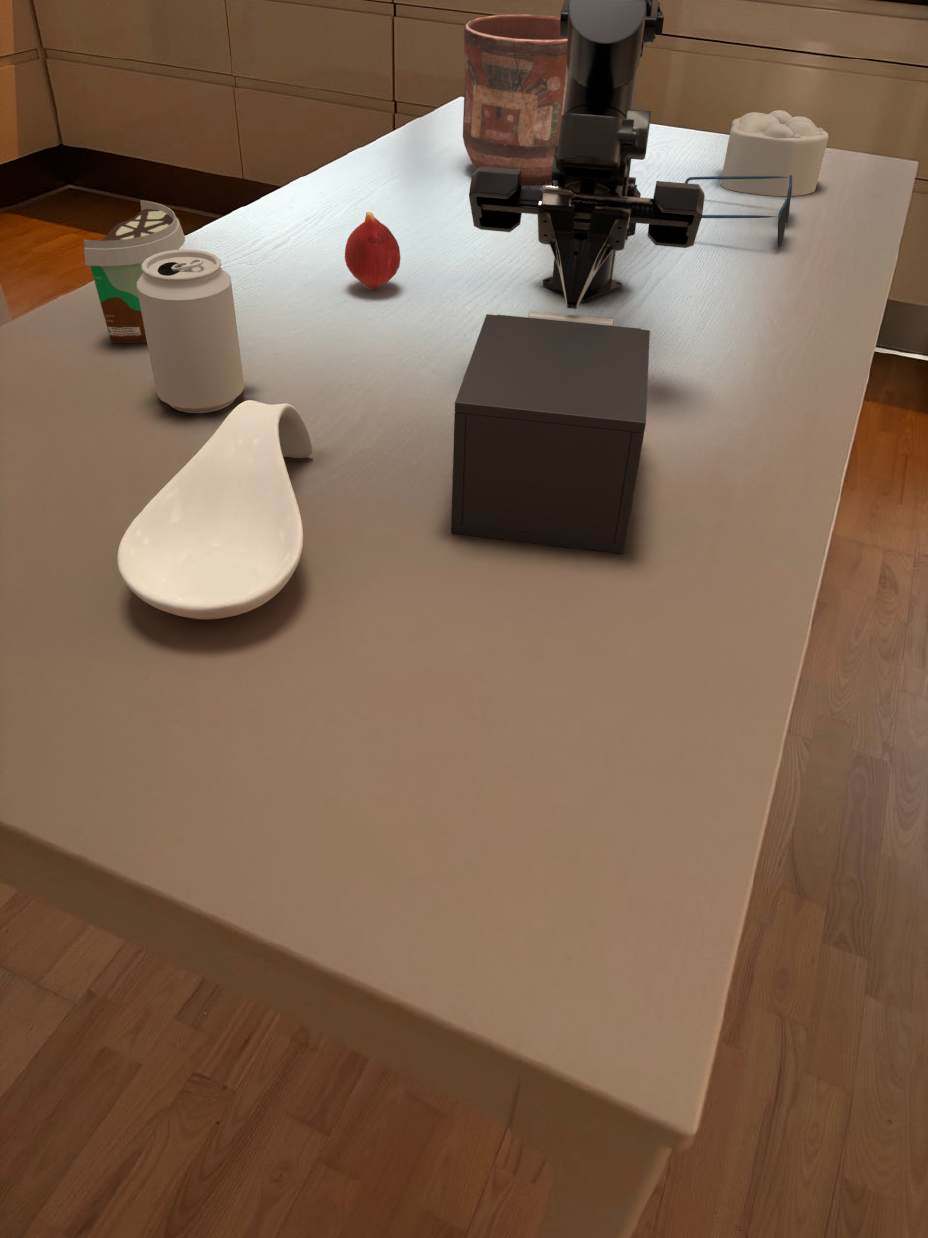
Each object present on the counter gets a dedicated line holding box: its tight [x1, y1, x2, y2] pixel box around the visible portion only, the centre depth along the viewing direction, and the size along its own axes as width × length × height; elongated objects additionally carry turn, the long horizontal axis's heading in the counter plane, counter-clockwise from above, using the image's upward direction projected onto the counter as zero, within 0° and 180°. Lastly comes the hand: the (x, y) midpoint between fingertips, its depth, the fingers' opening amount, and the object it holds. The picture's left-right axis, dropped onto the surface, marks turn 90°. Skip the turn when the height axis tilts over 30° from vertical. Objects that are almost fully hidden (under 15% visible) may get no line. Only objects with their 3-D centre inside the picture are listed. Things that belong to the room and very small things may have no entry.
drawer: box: [499, 310, 641, 329], centre depth 77 cm, size 18×11×9 cm, turn 171°
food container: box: [83, 199, 186, 344], centre depth 94 cm, size 12×6×10 cm, turn 168°
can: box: [137, 248, 245, 414], centre depth 83 cm, size 8×8×12 cm
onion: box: [344, 211, 401, 291], centre depth 104 cm, size 6×6×8 cm
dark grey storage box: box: [450, 314, 651, 555], centre depth 74 cm, size 15×13×11 cm
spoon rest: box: [116, 399, 313, 620], centre depth 69 cm, size 24×12×7 cm, turn 174°
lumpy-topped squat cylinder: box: [719, 109, 829, 197], centre depth 137 cm, size 10×13×9 cm
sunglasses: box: [684, 175, 792, 249], centre depth 125 cm, size 17×15×5 cm
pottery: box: [462, 14, 569, 186], centre depth 134 cm, size 18×18×18 cm
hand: (571, 306), depth 81 cm, fingers closed
